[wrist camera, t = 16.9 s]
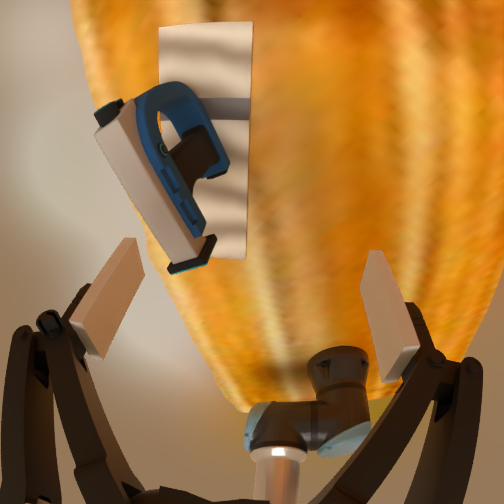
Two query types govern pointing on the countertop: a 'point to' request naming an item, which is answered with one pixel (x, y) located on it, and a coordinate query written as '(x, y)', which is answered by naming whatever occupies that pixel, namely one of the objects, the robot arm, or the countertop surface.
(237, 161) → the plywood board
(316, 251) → the countertop surface
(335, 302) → the countertop surface
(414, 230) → the countertop surface
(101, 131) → the handheld scanner
